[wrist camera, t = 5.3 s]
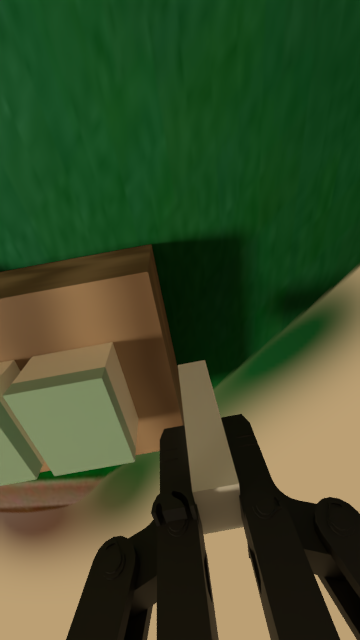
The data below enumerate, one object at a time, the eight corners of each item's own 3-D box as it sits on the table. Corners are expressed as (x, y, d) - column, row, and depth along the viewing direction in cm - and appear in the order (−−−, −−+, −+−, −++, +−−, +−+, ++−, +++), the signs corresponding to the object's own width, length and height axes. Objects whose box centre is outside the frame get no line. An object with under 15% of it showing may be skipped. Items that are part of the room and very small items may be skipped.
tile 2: (70, 430, 17) (54, 475, 14) (31, 356, 14) (2, 395, 11) (138, 418, 17) (134, 461, 14) (112, 341, 14) (101, 377, 11)
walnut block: (37, 406, 25) (-4, 479, 18) (-38, 278, 19) (-135, 323, 12) (180, 380, 25) (187, 445, 18) (151, 244, 19) (147, 271, 12)
